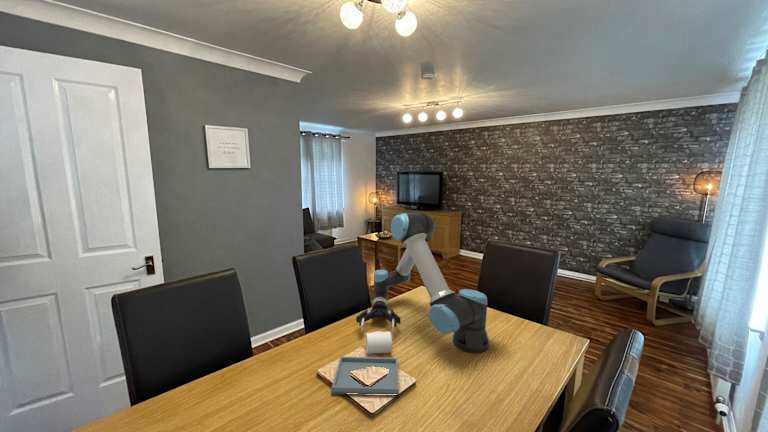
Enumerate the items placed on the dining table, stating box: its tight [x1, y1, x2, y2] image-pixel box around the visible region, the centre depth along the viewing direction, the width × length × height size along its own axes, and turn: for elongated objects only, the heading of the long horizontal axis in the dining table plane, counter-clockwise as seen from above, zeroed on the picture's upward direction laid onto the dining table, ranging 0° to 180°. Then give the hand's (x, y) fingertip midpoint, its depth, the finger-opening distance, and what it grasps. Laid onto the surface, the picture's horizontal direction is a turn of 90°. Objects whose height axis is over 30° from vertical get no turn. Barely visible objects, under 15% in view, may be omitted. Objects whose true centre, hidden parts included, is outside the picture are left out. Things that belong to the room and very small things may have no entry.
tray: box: [331, 355, 400, 396], centre depth 107 cm, size 22×17×2 cm
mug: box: [365, 330, 393, 355], centre depth 125 cm, size 12×10×8 cm
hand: (377, 328), depth 130 cm, fingers open, 13 cm apart
